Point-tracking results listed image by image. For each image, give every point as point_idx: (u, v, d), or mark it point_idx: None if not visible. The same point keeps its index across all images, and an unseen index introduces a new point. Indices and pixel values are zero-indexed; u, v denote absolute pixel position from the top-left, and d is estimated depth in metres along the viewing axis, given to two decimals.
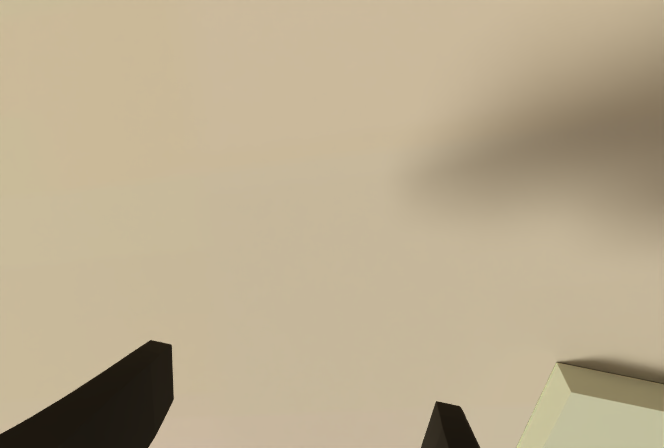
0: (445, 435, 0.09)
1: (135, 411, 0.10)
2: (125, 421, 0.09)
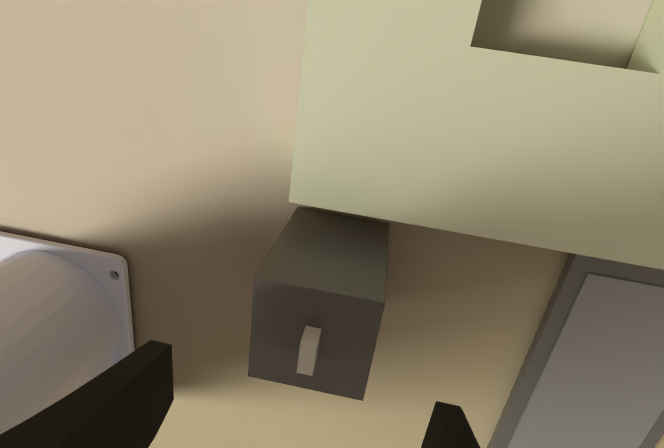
0: (445, 435, 0.09)
1: (135, 411, 0.10)
2: (126, 420, 0.09)
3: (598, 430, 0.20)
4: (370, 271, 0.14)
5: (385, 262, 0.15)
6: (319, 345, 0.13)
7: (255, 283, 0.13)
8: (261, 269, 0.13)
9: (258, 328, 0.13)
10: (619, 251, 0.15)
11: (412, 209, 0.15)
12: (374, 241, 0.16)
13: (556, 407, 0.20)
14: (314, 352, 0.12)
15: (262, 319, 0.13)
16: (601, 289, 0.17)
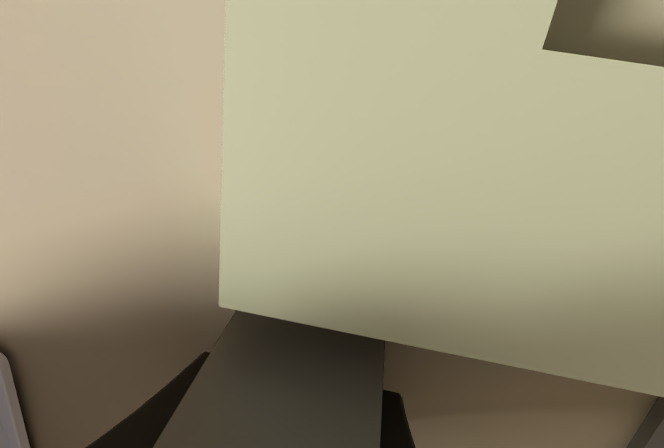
0: None
1: None
2: None
3: None
4: None
5: (378, 429, 0.08)
6: None
7: None
8: None
9: None
10: None
11: (424, 326, 0.09)
12: (361, 371, 0.10)
13: None
14: None
15: None
16: None
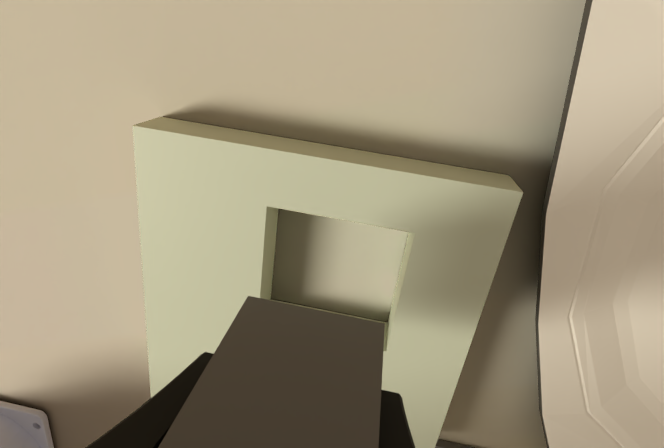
0: None
1: None
2: None
3: None
4: None
5: (376, 428, 0.09)
6: None
7: None
8: None
9: None
10: None
11: None
12: (360, 371, 0.10)
13: None
14: None
15: None
16: None
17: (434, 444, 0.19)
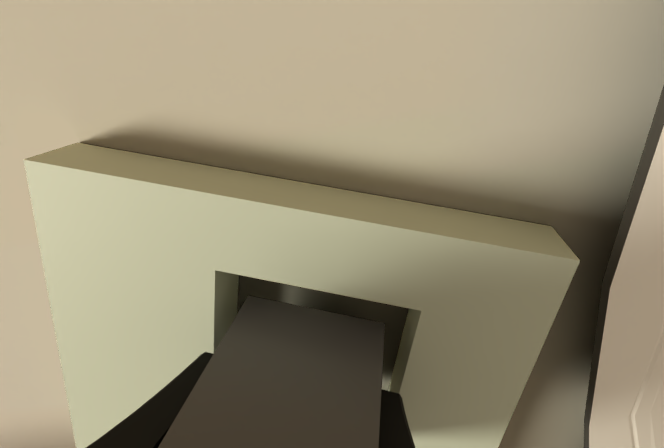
0: None
1: None
2: None
3: None
4: None
5: (376, 427, 0.09)
6: None
7: None
8: None
9: None
10: None
11: None
12: (360, 371, 0.10)
13: None
14: None
15: None
16: None
17: None
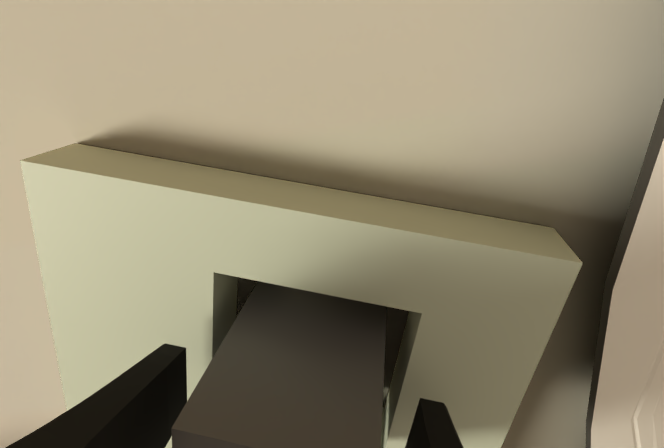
0: (426, 431, 0.09)
1: (151, 415, 0.10)
2: (142, 424, 0.09)
3: None
4: (358, 400, 0.09)
5: (381, 377, 0.10)
6: None
7: (173, 436, 0.08)
8: (185, 409, 0.08)
9: None
10: None
11: None
12: (366, 333, 0.11)
13: None
14: None
15: None
16: None
17: None
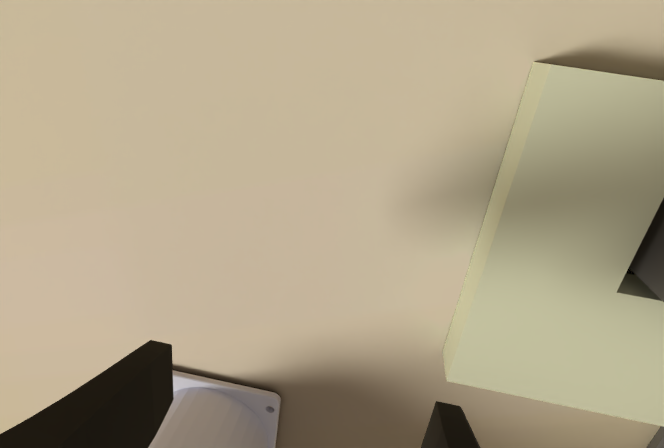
0: (445, 435, 0.09)
1: (135, 411, 0.10)
2: (126, 420, 0.09)
3: None
4: None
5: None
6: None
7: None
8: None
9: None
10: None
11: (551, 392, 0.19)
12: None
13: None
14: None
15: None
16: None
17: None
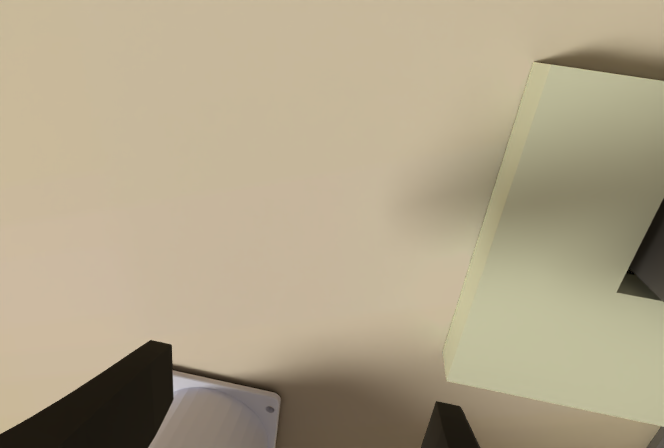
0: (445, 435, 0.09)
1: (135, 411, 0.10)
2: (125, 421, 0.09)
3: None
4: None
5: None
6: None
7: None
8: None
9: None
10: None
11: (551, 392, 0.19)
12: None
13: None
14: None
15: None
16: None
17: None
